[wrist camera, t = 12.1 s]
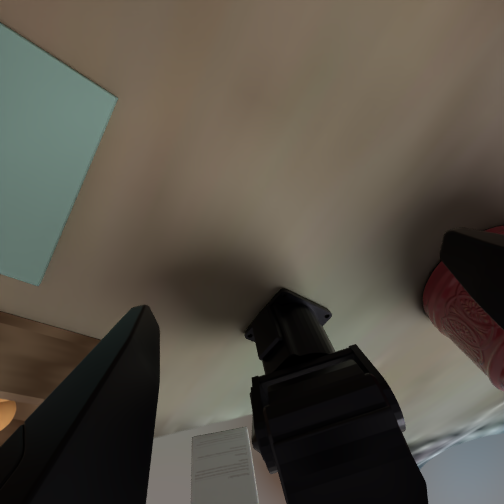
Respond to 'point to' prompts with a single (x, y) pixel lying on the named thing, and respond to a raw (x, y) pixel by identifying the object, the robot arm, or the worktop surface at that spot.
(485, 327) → the canister
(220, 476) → the supplement box
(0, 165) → the lid
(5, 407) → the ball
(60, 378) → the box
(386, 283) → the worktop surface
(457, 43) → the worktop surface
